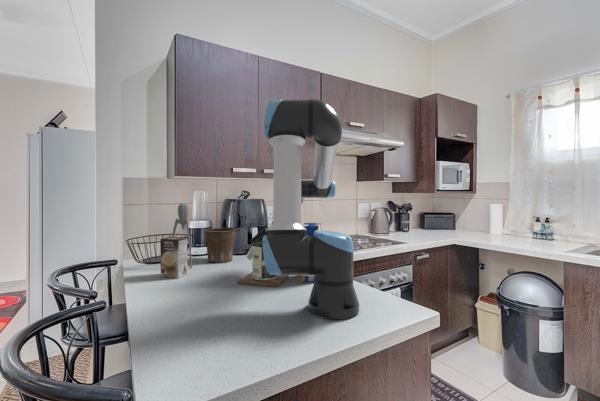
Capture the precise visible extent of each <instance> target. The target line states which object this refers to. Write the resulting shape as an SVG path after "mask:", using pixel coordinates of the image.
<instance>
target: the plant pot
mask: <svg viewBox="0 0 600 401" xmlns="http://www.w3.org/2000/svg"><path fill="white" fill-rule="evenodd" d="M236 231H237V228H234V227H212V228H210V227H209V228H204V229H203V232H204V237H205V242H206V243H205V244H206V251H207V252H206V254H207V261H208V262H209V263H213V262H214V263H215V264H222V263H227V262H231V261H233V254H234V243H235V237H236V233H237V232H236Z"/></svg>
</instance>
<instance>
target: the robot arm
mask: <svg viewBox="0 0 600 401" xmlns="http://www.w3.org/2000/svg"><path fill="white" fill-rule="evenodd" d="M265 108H266V109H265V112H264V120H263V124H264V125H263V126H264V128H263V134H264V138H267V139H268V143H269V144H270V146H272V147H273V181H272V182H273V190H272V191H273V192H272V193H273V195H272V196H273V197H272V198H273V202H272V203H273V204H272V209H273V210H272V215H273V216H272V222H271V226H268V225H267V224H266V225H264V226H263V228H262V229H261V230H260V231H259V232H258V233H256V234H255V235H254V236H253V237H252V238H251V239H249V242H250V244H251V245H250V246H249V249H248V251H247V254H246V255H245V257H246V258H247V259H248V261H251V260H252V242H253V241H258V240H263V255H264V262H265V267H266V270H267V272H268V273H269V274H271V275H282V276H284V275H289V276H301V275H314V282H313V284H312V285H313V286H312V289H311V291H310V294H309V298H308V301H307V305H308V307H307V308H308V309H309V310H308V311H310V312H311V313H310V312H309V313H310V314H311V315H313V314H314V315H313V316H315V315H316V316H315V317H317V316H319V317H318V318H321V317H323V318H322V319H325V318H327V319H326V320H335V319H338V320H346V318H347V319H351V318H353V316H354V317H356V316H357V315H358V314H359V313H360V302H359V299H358V295H357V292H356V289H355V286H354V252H355V250H354V242H353V238H352V237H351V236H350V235H349V234H346V233H342V232H338V231H333V230H327V229H326V230H324V229H321V230H316V231H314V233H313V236H308V235H307V232H306V228H305V227H304V226H303V223H302V204H303V202H304V200H305V199H308V198H313V199H314V198H316V199H317V198H320V199H322V198H323V199H328V198H334V197H335V196H336V188H337V187H336V181H335V180H333V176H334V170H335V169H334V167H335V161H336V154H337V149H338V148H337V147H338V144H339V143H340V142H341V140H342V137H343V136H342V134H343V126H342V125H343V124H342V122H341V119H340V117H339V115H338V113H337V112H336V110H335V109H334V108H333V107H332V106H331V105H330V104H329V103H327V102H325V101H323V100H321V99H315V98H314V99H313V98H312V99H284V98H281V99H272V100H271V101H268V103H267V106H266V107H265ZM308 138H313V139H312V140H314V142H315V143H314V144H315V145H314V146H315V148H314V165H313V166H314V167H313V179H302V148H303V146H305V144H307V143H306V142H307V139H308ZM358 312H359V313H358ZM355 315H356V316H355ZM350 317H351V318H350Z"/></svg>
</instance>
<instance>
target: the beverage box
mask: <svg viewBox="0 0 600 401" xmlns="http://www.w3.org/2000/svg"><path fill="white" fill-rule="evenodd" d="M302 225H303V226H304V227H305V228H306V232H307V235H308V236H313V233H314V231H316V230H322V224H321V222H304V223H302ZM300 279H301V280H300V281H305V282H304V283H314V275H300Z"/></svg>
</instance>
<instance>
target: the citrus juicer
mask: <svg viewBox="0 0 600 401" xmlns="http://www.w3.org/2000/svg"><path fill="white" fill-rule="evenodd" d="M189 211H190V210H189V205H188V204H187V203H185V202H184V203H183V202H182V203H180V204H178V207H177V216H178V218H175V220H174V225H173V229H172V234H171V237H175V234H176V230H177V227H178V224H180V225H181V228H182V230H183V232H184V230H185V228H186V231H187V242H188V249H189V268H190V269H192V268H193V263H192V262H193V261H192V260H193V259H192V244H191V235H190V234H191V233H190V227H189Z"/></svg>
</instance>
